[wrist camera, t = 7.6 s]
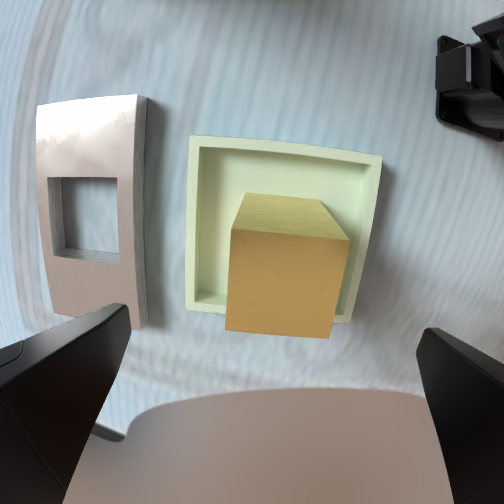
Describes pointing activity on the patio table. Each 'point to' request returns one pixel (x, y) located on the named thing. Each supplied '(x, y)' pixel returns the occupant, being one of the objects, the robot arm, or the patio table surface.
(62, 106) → the brown rectangular frame
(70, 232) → the patio table surface
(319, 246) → the wooden beam piece
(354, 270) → the tray
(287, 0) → the patio table surface
